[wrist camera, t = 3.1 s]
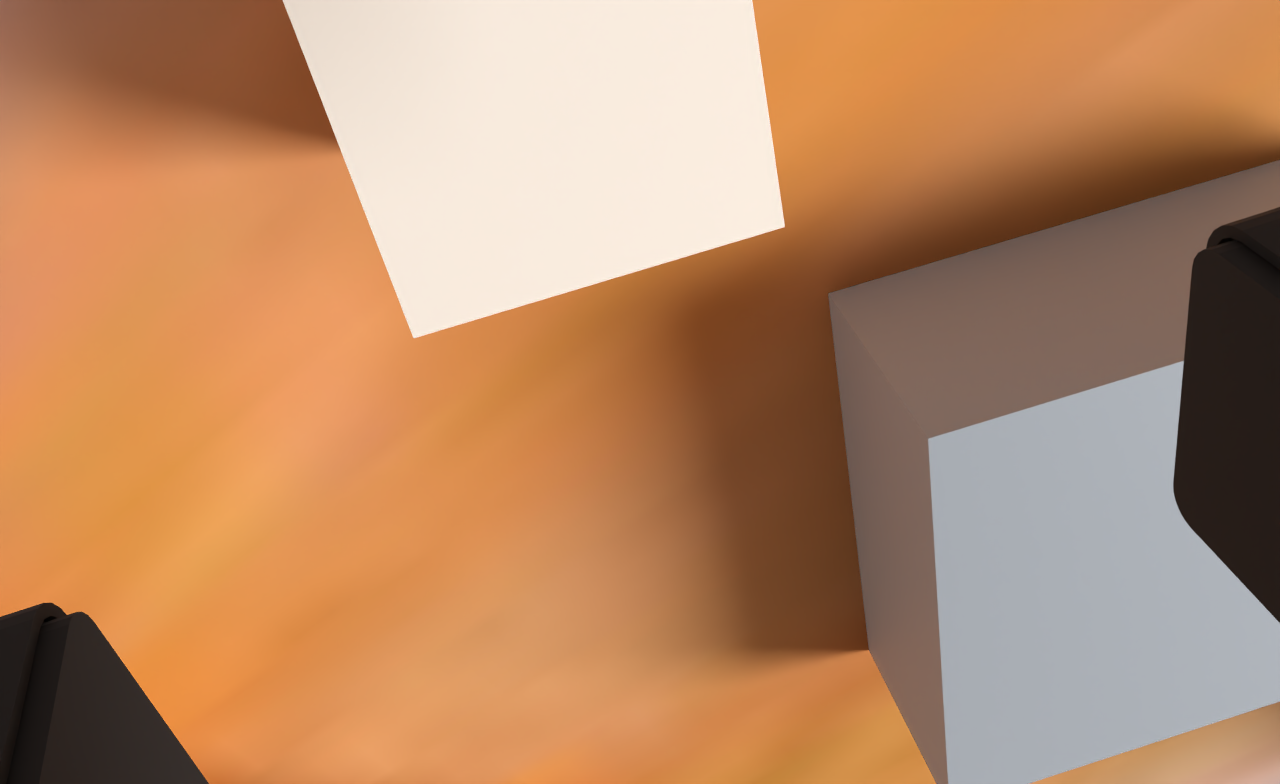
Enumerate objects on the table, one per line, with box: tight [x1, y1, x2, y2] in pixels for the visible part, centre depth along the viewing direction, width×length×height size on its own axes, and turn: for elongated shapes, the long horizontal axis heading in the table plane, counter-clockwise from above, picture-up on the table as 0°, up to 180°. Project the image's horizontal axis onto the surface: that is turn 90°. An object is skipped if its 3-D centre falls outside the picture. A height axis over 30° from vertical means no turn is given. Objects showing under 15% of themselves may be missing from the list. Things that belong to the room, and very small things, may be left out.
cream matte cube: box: [283, 0, 785, 338], centre depth 20 cm, size 6×6×7 cm
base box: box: [828, 160, 1280, 784], centre depth 31 cm, size 13×13×6 cm
